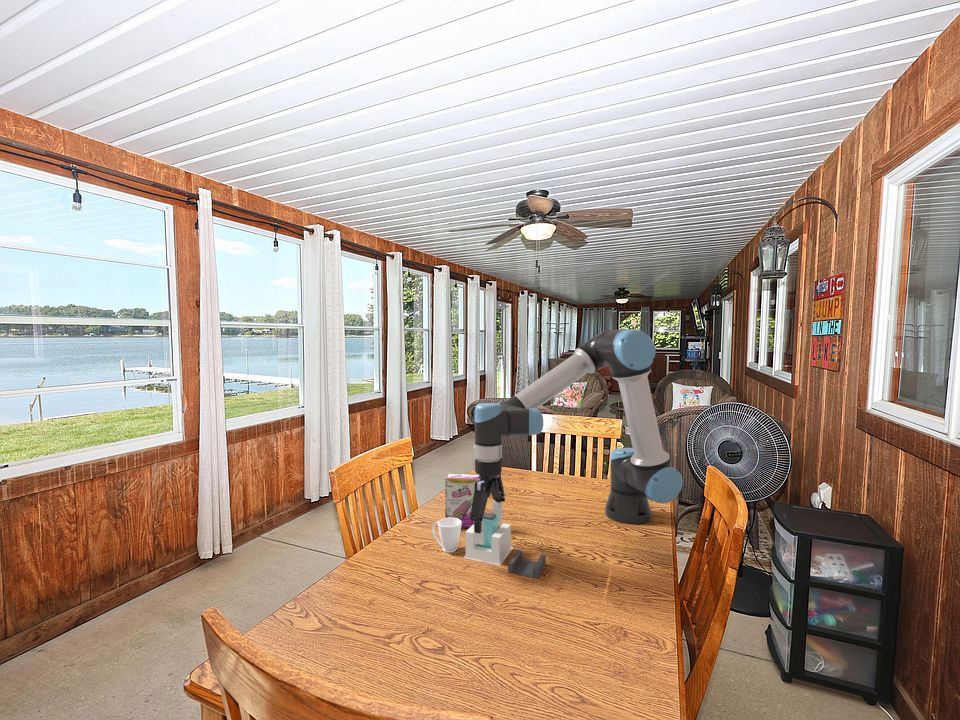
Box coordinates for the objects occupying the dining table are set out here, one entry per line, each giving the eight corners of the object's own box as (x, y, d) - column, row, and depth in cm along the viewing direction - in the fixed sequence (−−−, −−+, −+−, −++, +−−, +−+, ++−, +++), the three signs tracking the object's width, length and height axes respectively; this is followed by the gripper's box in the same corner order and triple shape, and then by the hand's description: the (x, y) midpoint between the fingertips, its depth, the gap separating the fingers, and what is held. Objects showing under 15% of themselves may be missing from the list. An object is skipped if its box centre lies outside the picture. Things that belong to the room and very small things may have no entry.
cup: (451, 557, 122) (451, 529, 122) (425, 547, 128) (424, 520, 128) (467, 547, 128) (466, 520, 127) (441, 538, 134) (440, 512, 133)
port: (513, 549, 127) (513, 523, 126) (500, 567, 117) (500, 539, 116) (478, 542, 131) (478, 517, 131) (462, 559, 121) (462, 532, 121)
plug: (497, 550, 125) (497, 513, 124) (492, 556, 121) (492, 518, 121) (484, 547, 126) (484, 511, 126) (479, 553, 123) (479, 516, 122)
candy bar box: (445, 528, 141) (444, 477, 141) (447, 521, 146) (447, 473, 146) (479, 529, 140) (479, 478, 140) (481, 522, 145) (480, 474, 145)
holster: (545, 565, 117) (545, 555, 117) (537, 581, 110) (537, 569, 110) (517, 560, 120) (517, 549, 120) (507, 574, 113) (507, 563, 113)
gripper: (492, 447, 135) (492, 514, 136) (456, 469, 113) (457, 550, 113) (515, 449, 133) (515, 518, 133) (483, 472, 110) (484, 555, 111)
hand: (488, 533), depth 123 cm, fingers open, 13 cm apart
